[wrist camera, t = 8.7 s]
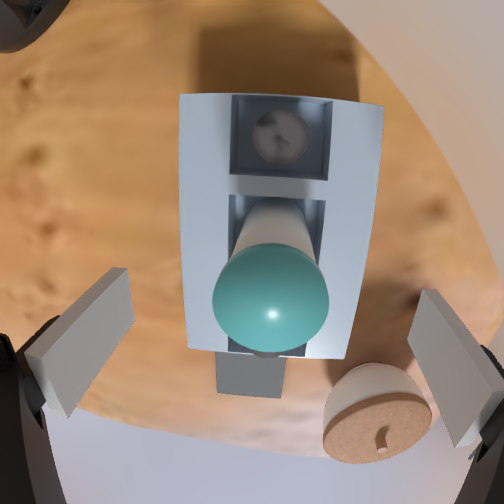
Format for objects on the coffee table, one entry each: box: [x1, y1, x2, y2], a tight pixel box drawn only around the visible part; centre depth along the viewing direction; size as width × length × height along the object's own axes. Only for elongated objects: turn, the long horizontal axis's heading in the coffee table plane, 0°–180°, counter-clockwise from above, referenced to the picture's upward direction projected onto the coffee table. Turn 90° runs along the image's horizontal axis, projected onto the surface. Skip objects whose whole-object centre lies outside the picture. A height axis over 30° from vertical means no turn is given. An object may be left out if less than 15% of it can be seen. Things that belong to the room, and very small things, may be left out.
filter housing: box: [179, 93, 384, 359], centre depth 23 cm, size 12×18×6 cm, turn 178°
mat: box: [215, 351, 286, 398], centre depth 31 cm, size 7×7×1 cm
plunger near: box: [252, 110, 309, 165], centre depth 18 cm, size 3×3×4 cm
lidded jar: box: [323, 362, 432, 464], centre depth 27 cm, size 11×11×9 cm
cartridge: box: [212, 197, 329, 352], centre depth 18 cm, size 5×5×11 cm
